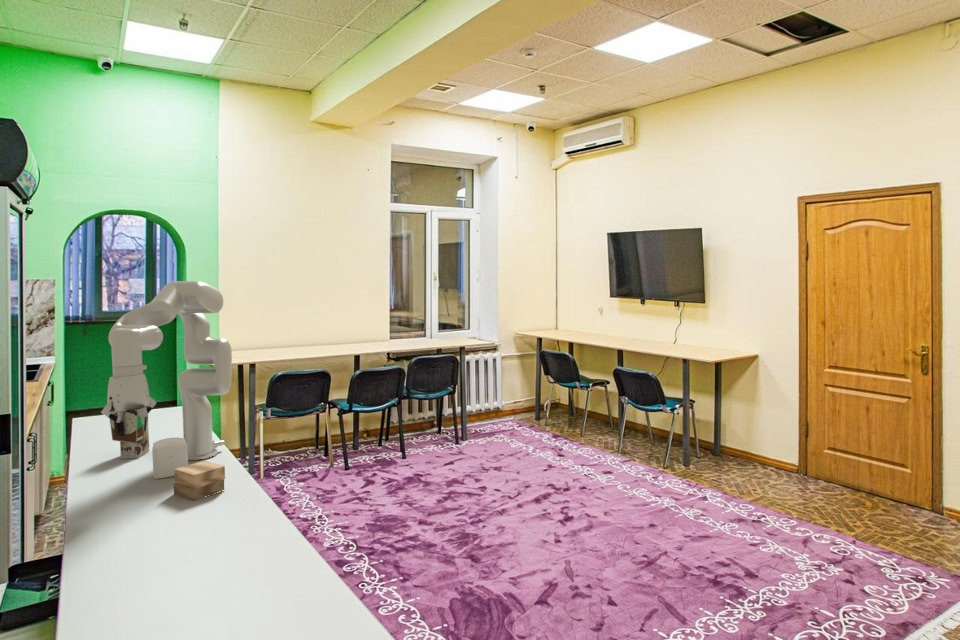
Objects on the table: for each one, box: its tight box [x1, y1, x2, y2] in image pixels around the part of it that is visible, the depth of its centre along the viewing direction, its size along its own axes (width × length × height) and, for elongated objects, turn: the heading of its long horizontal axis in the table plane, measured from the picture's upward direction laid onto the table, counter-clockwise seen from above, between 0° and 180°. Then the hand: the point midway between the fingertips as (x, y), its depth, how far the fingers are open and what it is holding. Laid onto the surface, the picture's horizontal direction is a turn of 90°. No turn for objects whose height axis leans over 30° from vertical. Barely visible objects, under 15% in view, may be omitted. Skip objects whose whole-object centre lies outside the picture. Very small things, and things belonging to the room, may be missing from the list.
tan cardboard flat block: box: [173, 479, 225, 502], centre depth 187 cm, size 10×10×4 cm
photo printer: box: [151, 437, 189, 480], centre depth 203 cm, size 10×4×12 cm, turn 123°
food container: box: [109, 405, 147, 444], centre depth 182 cm, size 12×6×10 cm, turn 70°
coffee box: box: [119, 415, 150, 459], centre depth 226 cm, size 9×6×16 cm
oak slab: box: [173, 460, 226, 489], centre depth 188 cm, size 10×10×4 cm
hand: (131, 432), depth 181 cm, fingers closed on food container, 5 cm apart
